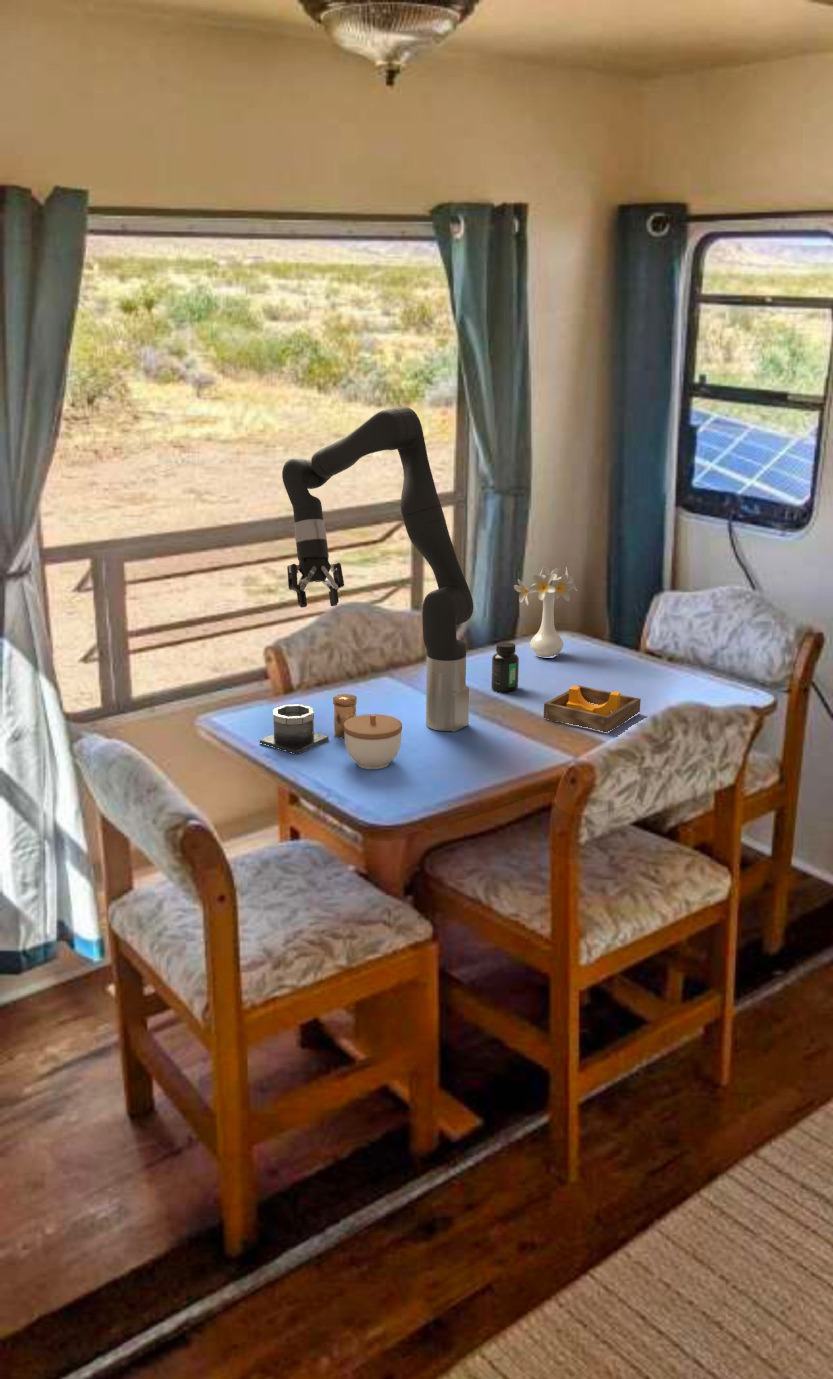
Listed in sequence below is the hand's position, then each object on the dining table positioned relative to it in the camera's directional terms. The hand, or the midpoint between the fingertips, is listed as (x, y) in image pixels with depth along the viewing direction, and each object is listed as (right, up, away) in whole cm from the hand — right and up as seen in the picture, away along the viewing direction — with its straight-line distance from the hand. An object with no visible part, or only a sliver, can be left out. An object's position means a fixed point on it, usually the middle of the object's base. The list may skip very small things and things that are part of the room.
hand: (319, 606), depth 292 cm
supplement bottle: (+46, -20, +18) cm, 54 cm away
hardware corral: (+66, -27, -1) cm, 71 cm away
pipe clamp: (+66, -27, -1) cm, 71 cm away
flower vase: (+60, -11, +45) cm, 76 cm away
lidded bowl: (+14, -36, -30) cm, 49 cm away
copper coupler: (+7, -31, -13) cm, 34 cm away
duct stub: (-4, -32, -18) cm, 37 cm away
